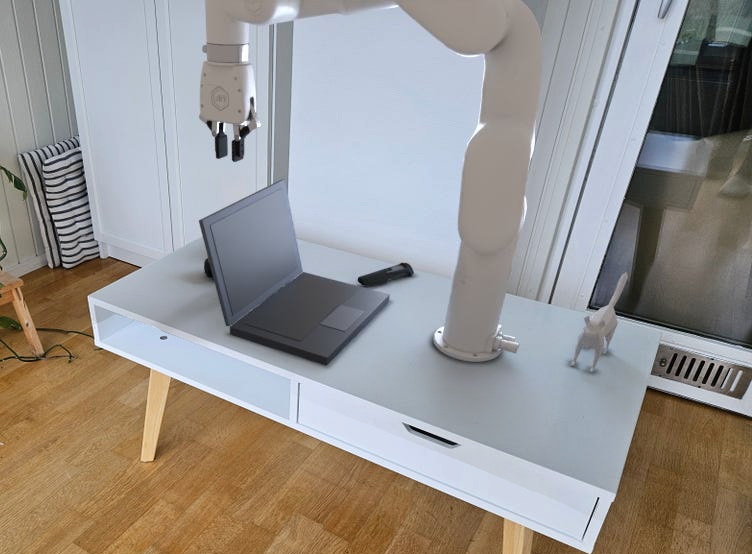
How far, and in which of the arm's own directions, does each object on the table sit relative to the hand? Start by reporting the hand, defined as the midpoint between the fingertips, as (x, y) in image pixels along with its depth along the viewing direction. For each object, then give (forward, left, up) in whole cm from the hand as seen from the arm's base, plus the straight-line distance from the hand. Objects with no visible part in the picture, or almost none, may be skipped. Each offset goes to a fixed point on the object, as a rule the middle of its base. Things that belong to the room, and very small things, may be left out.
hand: (229, 157), depth 123 cm
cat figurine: (-71, -15, -29) cm, 78 cm away
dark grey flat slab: (-20, 0, -29) cm, 35 cm away
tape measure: (+7, -6, -29) cm, 31 cm away
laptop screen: (-7, 0, -17) cm, 19 cm away
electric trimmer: (-26, -24, -29) cm, 46 cm away
